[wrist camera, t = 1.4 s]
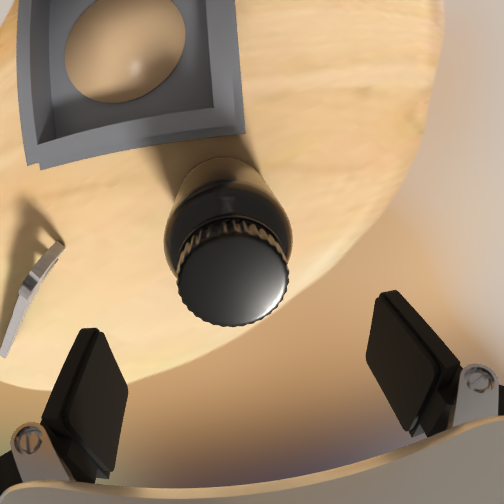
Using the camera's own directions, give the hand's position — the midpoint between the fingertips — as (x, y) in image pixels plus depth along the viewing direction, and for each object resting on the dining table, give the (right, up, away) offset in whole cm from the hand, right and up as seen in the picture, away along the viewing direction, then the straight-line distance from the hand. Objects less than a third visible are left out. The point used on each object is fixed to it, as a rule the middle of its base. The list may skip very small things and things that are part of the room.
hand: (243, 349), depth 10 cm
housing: (-9, +18, +7) cm, 21 cm away
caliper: (-23, -3, +16) cm, 28 cm away
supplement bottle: (-2, +7, +14) cm, 16 cm away
